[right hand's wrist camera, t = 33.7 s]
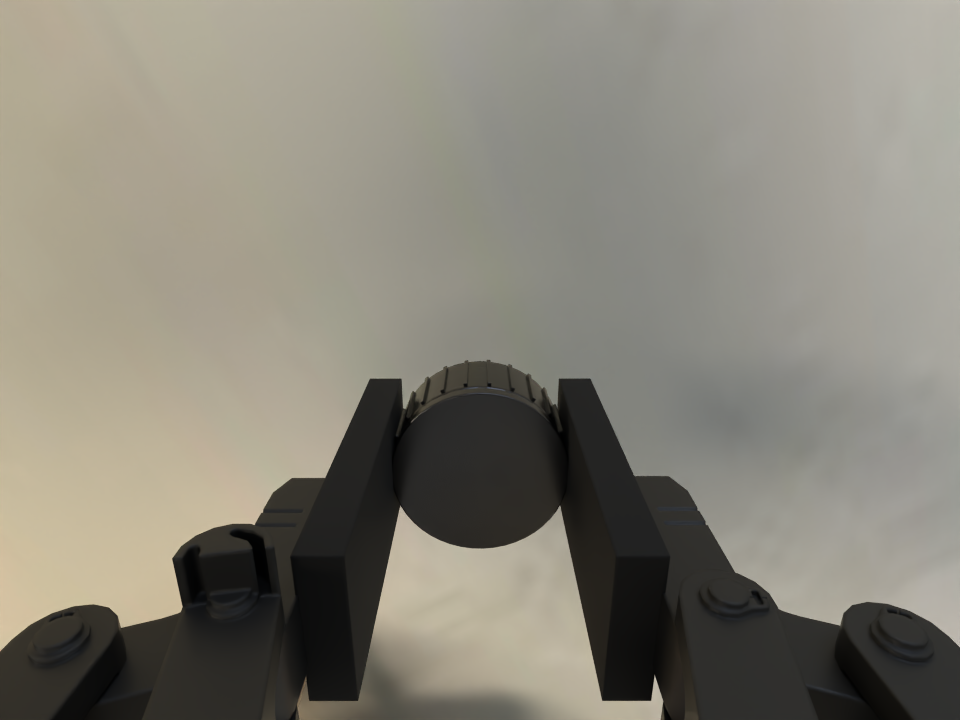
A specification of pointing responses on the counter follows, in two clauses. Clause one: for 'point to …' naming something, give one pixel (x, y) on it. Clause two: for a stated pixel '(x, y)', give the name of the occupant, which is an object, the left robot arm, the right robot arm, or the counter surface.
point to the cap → (480, 456)
